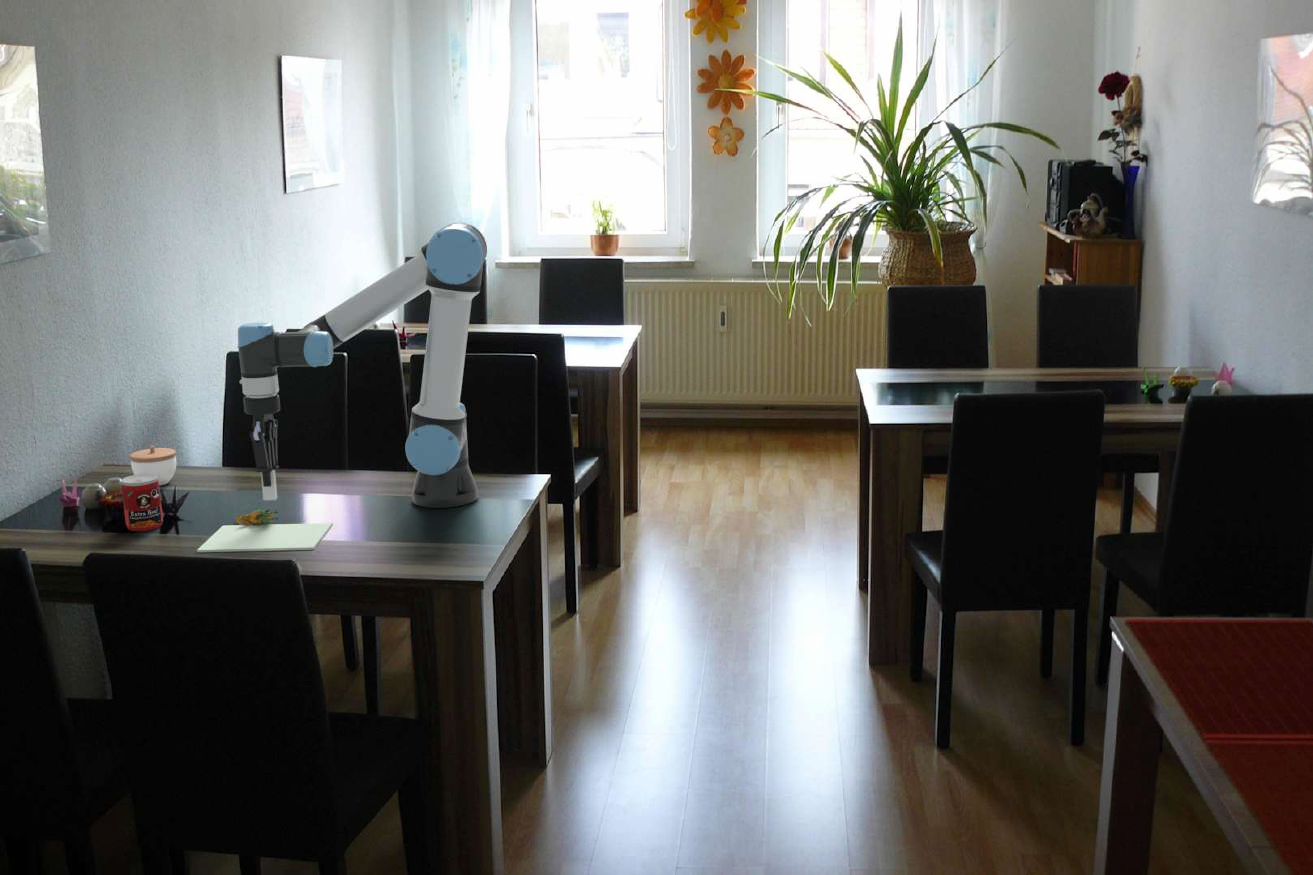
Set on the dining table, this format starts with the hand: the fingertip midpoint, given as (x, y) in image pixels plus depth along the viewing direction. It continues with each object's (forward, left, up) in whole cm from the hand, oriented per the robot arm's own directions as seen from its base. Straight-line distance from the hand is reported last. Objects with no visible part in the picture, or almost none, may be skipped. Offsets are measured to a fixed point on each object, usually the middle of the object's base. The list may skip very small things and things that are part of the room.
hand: (270, 499), depth 284 cm
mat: (-2, +12, -5) cm, 13 cm away
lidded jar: (+39, -36, -6) cm, 53 cm away
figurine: (+1, -1, -4) cm, 4 cm away
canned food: (+28, +1, -6) cm, 28 cm away
